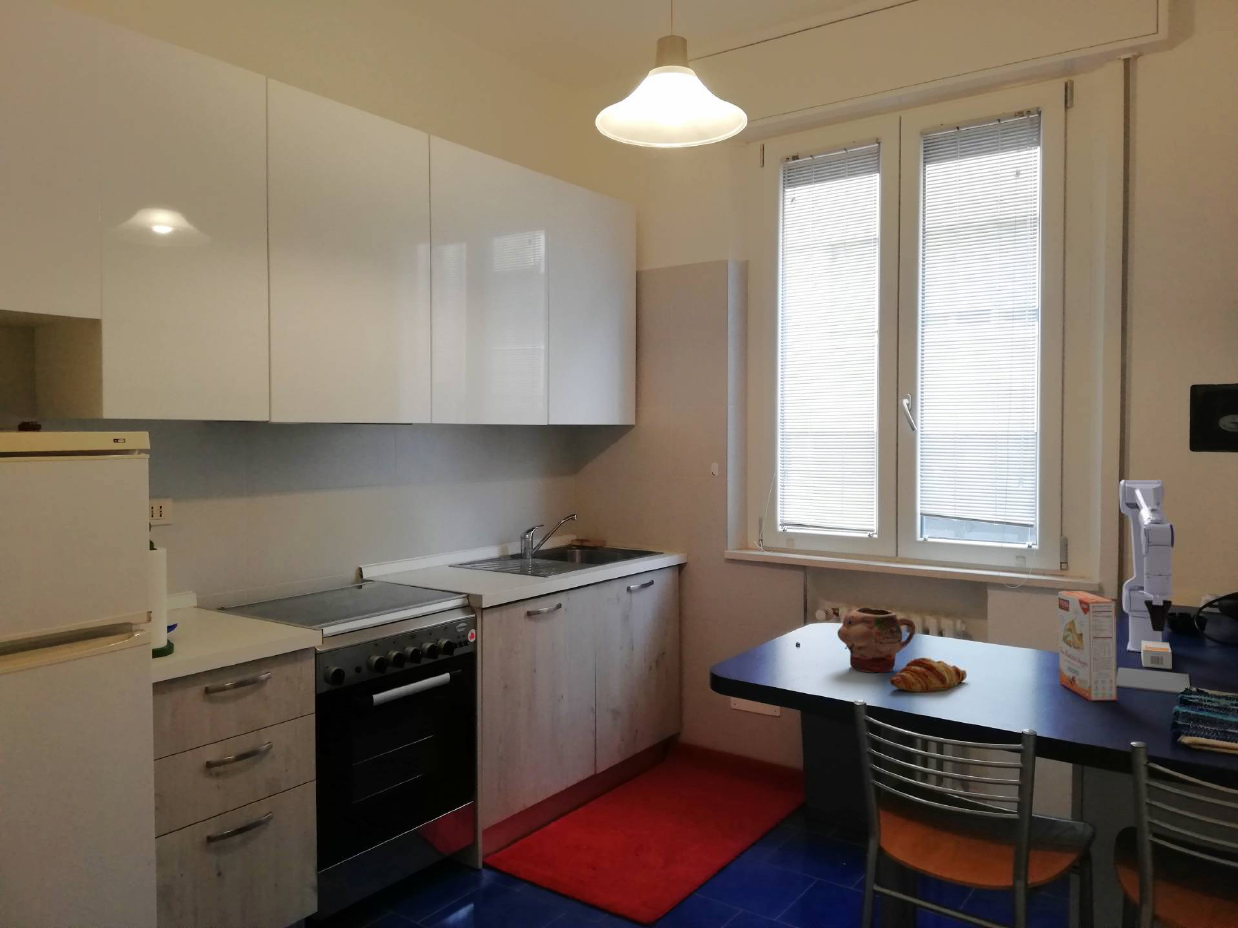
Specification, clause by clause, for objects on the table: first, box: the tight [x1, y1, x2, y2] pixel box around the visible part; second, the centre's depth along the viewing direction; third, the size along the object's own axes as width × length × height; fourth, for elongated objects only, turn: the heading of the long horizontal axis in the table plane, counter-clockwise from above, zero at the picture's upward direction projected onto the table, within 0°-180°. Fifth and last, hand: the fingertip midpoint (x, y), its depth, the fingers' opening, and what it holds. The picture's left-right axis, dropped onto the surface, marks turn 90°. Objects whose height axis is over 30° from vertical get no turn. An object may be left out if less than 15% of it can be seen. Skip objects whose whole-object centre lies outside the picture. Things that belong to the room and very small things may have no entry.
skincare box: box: [1140, 640, 1173, 670], centre depth 220 cm, size 6×4×12 cm
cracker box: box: [1058, 590, 1118, 702], centre depth 194 cm, size 14×6×21 cm, turn 178°
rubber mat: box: [1116, 667, 1191, 695], centre depth 203 cm, size 18×14×1 cm
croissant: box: [889, 657, 968, 693], centre depth 201 cm, size 21×10×8 cm, turn 115°
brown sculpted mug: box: [837, 607, 916, 673], centre depth 218 cm, size 20×12×14 cm, turn 108°
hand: (1158, 630), depth 216 cm, fingers closed
